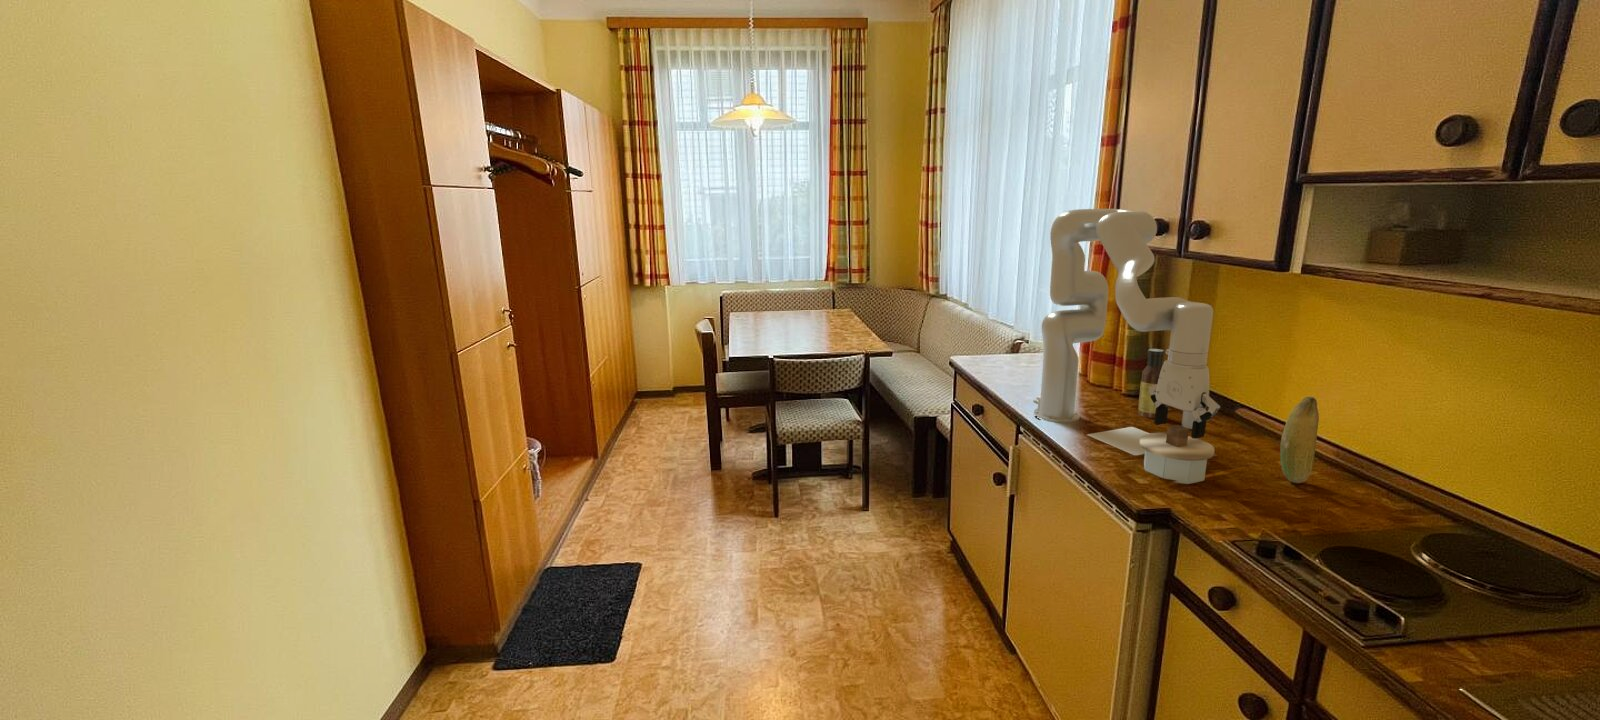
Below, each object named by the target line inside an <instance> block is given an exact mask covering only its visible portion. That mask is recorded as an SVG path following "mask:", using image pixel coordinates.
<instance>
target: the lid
mask: <svg viewBox="0 0 1600 720" xmlns="http://www.w3.org/2000/svg"><path fill="white" fill-rule="evenodd" d="M1166 429H1167V431H1166V432H1151V433H1150V434H1145V435H1143V436H1141V437H1140V442H1139V444H1140V446H1141V447H1142V448H1143V449H1145V450H1146V451H1148V452H1150V453H1153V454H1156V455H1159V456H1162V457H1167V458H1171V459H1178V460H1188V461H1198V460H1206V459H1207V460H1209V459H1211V458H1213V457H1214V456H1215V451H1216V450H1215V447H1214V446H1213V445H1212V444H1211V443H1209V442H1208V441H1205V440H1203V439H1200V438H1196V439H1194V438H1192V437H1191V435H1190V436H1189V431H1190V429H1189V428H1185V427H1183V426H1182V425H1179V424H1174V425H1168V426H1167V428H1166Z"/></svg>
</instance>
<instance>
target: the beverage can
mask: <svg viewBox="0 0 1600 720" xmlns="http://www.w3.org/2000/svg"><path fill="white" fill-rule="evenodd" d="M1199 413H1200V412H1199ZM1200 415H1201V414H1200ZM1193 421H1196V419H1195V417H1194V415H1193V414H1192V412H1187V411H1183V410H1182V419H1181V426H1183V427H1185V428H1188V429H1189V430H1192V425H1193Z"/></svg>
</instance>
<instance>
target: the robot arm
mask: <svg viewBox="0 0 1600 720" xmlns="http://www.w3.org/2000/svg"><path fill="white" fill-rule="evenodd" d="M1157 231H1158V225H1157V221H1156V220H1155V218H1154V216H1152V215H1151V214H1150V213H1148V212H1147V211H1143V210H1130V209H1119V208H1082V209H1072V210H1067V211H1064V212H1062V213H1060V214H1059V215H1057V217H1056V218H1055V219H1054V221H1053V222H1052V226H1051V229H1050V235H1049V236H1050V237H1049V238H1050V248H1051V254H1052V259H1051V271H1050V272H1051V273H1050V284H1049V297H1050V300H1051V301H1052V303H1053V304H1054V305H1057V306H1061V307H1062V306H1063V307H1064V306H1065V307H1067V306H1068V307H1069V306H1070V307H1071V306H1080V307H1079V308H1078V309H1063V310H1062V309H1061V310H1056V311H1053V312H1050V313H1048V314H1046V316H1045V317H1044V318H1043V320H1042V322H1041V335H1042V342H1043V343H1042V344H1043V346H1042V347H1043V352H1042V353H1043V354H1042V355H1043V358H1042V370H1041V371H1042V372H1041V384H1040V385H1041V386H1040V387H1041V388H1040V395H1038V396H1036V398H1034V399H1033V400H1032V402H1033V403H1034V404H1036V405H1037V408H1036V409H1034V410H1033V415H1034V414H1035V415H1036V416H1037V417H1039V418H1042V419H1044V420H1043V421H1046V420H1048V421H1047V422H1051V421H1052V422H1053V423H1065V424H1066V423H1074V422H1077V421H1079V420H1080V417H1081V415H1080V413H1079V412H1077V411H1076V409H1075V408H1076V397H1077V396H1076V395H1077V383H1078V374H1079V360H1080V359H1079V356H1078V353H1077V351H1076V349H1075V347H1074V344H1077V343H1078V344H1079V343H1080V344H1081V343H1090V342H1095V341H1097V340H1099V339H1100V338H1101V337H1102V336H1103V334H1104V333H1105V329H1106V323H1107V314H1108V313H1107V311H1108V302H1109V301H1108V300H1109V285H1108V281H1107V279H1106V277H1105V276H1104V275H1103V273H1101V272H1099V271H1096V270H1085V266H1086V265H1085V263H1086V254H1085V252H1084V250H1083V247H1082V246H1081V244H1080V242H1081V243H1082V242H1100V243H1101V245H1102V246H1103V249H1104V250H1105V252H1106V254H1107V256H1108V257H1109V259H1110V261H1111V263H1112V265H1113V266H1114V268H1115V269H1116V271H1117V274H1118V275H1117V277H1116V281H1115V285H1114V297H1115V303H1116V305H1117V307H1118V309H1119V311H1120V313H1121V315H1122V316H1123V319H1125V321H1126V323H1127V324H1128V325H1129V326H1130V327H1131V328H1132V329H1134V330H1135V331H1138V332H1156V331H1170V336H1169V337H1170V339H1169V344H1168V345H1169V346H1168V348H1167V349H1165V354H1166V355H1168V356H1167V360H1163V363H1162V365H1163V366H1162V369H1161V372H1160V375H1159V379H1158V384H1156V385H1152V386H1149V392H1150V395H1151V399H1152V401H1153V403H1154V404H1153V406H1154V407H1155V408H1156V411H1155V418H1154V426H1155V425H1156V426H1159V425H1166V424H1167V423H1168V420H1167V419H1168V414H1169V407H1171V408H1174V409H1176V410H1180V411H1182V412H1183V411H1187V412H1192V414H1193V415H1194V417H1195V419H1196V421H1193V425H1192V429H1191V434H1190V437H1192V438H1194V439H1196V438H1197V439H1200V438H1204V437H1205V433H1206V427H1207V422H1208V421H1210V420H1211V419H1212V418H1214V417H1215V416H1216V414H1217V413H1218V411H1219V410H1220V409H1221V405H1219V404H1218V403H1217V402H1216V401H1215V400H1214V399H1213V398H1212V397H1211V396H1210V371H1209V366H1207V364H1208V356H1209V349H1210V348H1209V347H1210V341H1211V334H1212V333H1211V332H1212V325H1213V319H1214V318H1213V317H1214V308H1213V307H1212V305H1210V304H1208V303H1204V302H1197V301H1196V302H1195V301H1190V300H1187V299H1185V298H1182V297H1178V296H1177V297H1176V296H1171V297H1170V296H1169V297H1152V298H1146V296H1145V295H1144V293H1143V292H1142V290H1141V288H1140V287H1139V284H1138V281H1137V278H1138V277H1139V276H1141V275H1143V274H1145V273H1146V272H1147V271H1149V269H1150V268H1152V266H1153V265H1154V263H1155V255H1154V253H1153V252H1152V250H1151V249H1150V247H1149V246H1148V244H1149V243H1151V242H1152V241H1153V240H1154V239H1155V237H1156V234H1157ZM1207 407H1208V409H1207ZM1206 409H1207V410H1206ZM1199 412H1200V413H1199ZM1200 414H1201V415H1200ZM1052 422H1051V423H1052Z"/></svg>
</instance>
